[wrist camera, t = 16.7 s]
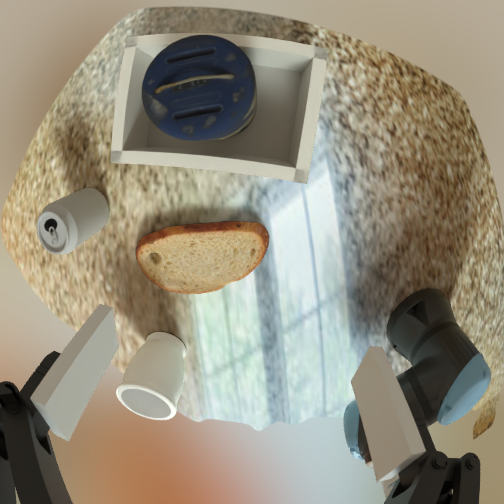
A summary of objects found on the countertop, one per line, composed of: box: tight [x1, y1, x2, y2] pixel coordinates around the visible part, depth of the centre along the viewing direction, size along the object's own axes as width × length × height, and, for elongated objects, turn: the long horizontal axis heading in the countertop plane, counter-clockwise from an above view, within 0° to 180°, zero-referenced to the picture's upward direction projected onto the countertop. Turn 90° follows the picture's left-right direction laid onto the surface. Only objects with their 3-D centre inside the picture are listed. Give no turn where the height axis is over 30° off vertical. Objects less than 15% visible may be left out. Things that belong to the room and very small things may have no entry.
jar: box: [116, 332, 186, 420], centre depth 45 cm, size 11×10×15 cm
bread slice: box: [136, 221, 269, 294], centre depth 42 cm, size 18×18×4 cm
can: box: [37, 187, 109, 255], centre depth 35 cm, size 8×8×12 cm
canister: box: [142, 35, 257, 141], centre depth 25 cm, size 10×10×18 cm
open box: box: [111, 33, 328, 184], centre depth 30 cm, size 23×16×9 cm
